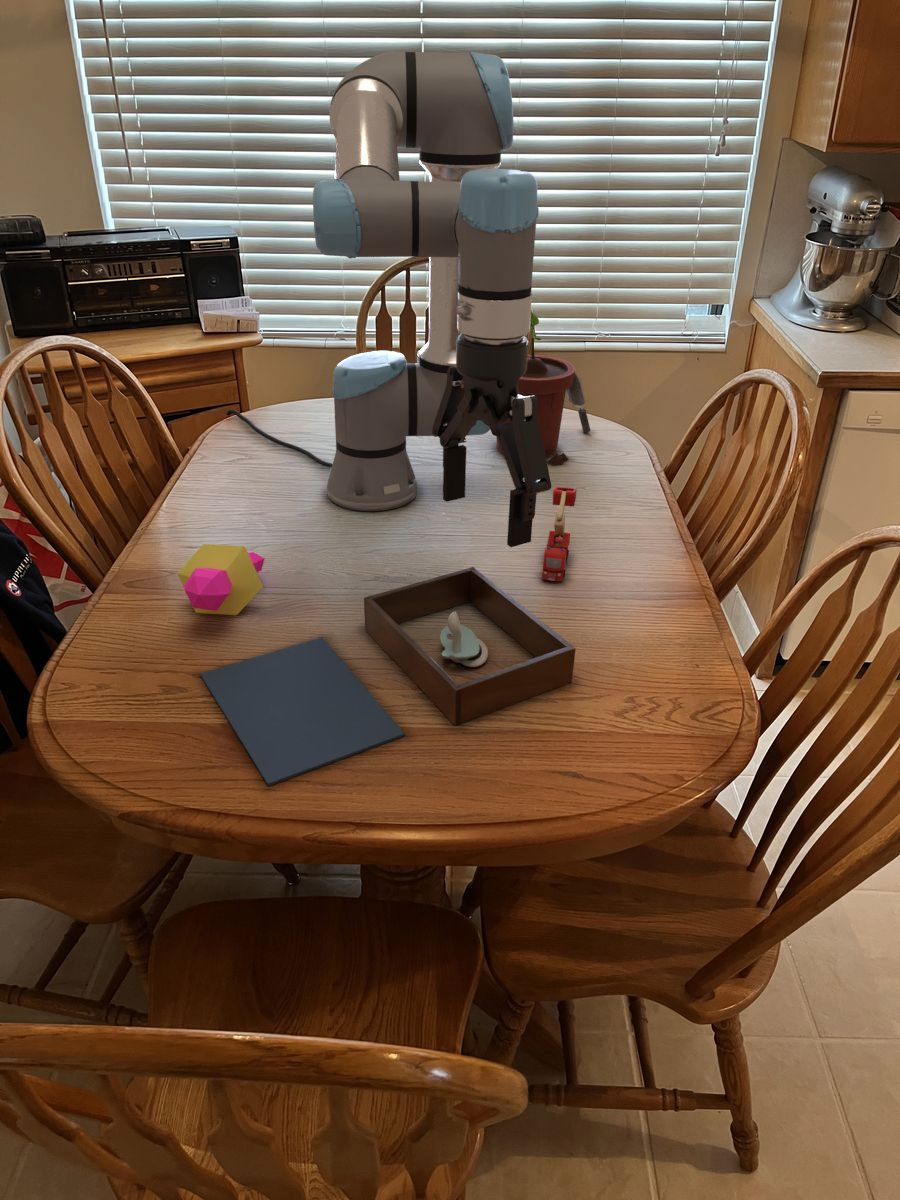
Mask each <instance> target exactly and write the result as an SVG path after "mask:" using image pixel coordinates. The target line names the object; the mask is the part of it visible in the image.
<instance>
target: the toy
mask: <svg viewBox="0 0 900 1200" xmlns="http://www.w3.org/2000/svg"><path fill="white" fill-rule="evenodd" d="M264 562H265V557H263V556H262V555H259V554H258V553H256V552H255V551H250V552H249V551H248V550H247V548H246V546H245V545H228V544H211V543H210V544H209V543H203V544H202V545H201V546H200V547H199V548H198V549H197V551H196V552H194V554H193V555H192V556H191V557H190V558H189V559H188V561H186V563H185V564H183V566H182V567H181V568H180V570H178V572H177V576H178V578H179V580H180V582H181V584H182V586H183V589H184V591H185V593H186V596H187V598H188V600H189V602H190V604H191V606H192V607H193V610H194V612H195V613H196V614H209V615H223V616H224V615H226V616H238V614H240V613H241V611H242V610H243V609H244V608H245V607H246V606H247V605H248V604H249V603H250V602H251V601H252V600H253V599H254V597H255V596H256V595H257V594H258V593H259V592H260V591H261V590H262V589H263V588H264V585H263V583H262V580H261V578H260V576H259V574H258V573H259V572H261V571H262V570H263V567H264Z"/></svg>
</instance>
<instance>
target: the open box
mask: <svg viewBox="0 0 900 1200" xmlns="http://www.w3.org/2000/svg"><path fill="white" fill-rule="evenodd" d="M467 603H471V604H472V605H473V606H475V608H477V610H479V611H480V612H481V613H483V615H485V616H486V617H488V618H489V619H490V620H491V621H492V622H493V623H494V624H496V625H497V626H498V627H499V628H501V629H502V631H504V632H505V633H506V634H508V635H509V636H510V637H511V638H512V639H513V640H514V641H515V642H517V643H518V644H519V645H520V646H522V648H523V649H525V650H526V651H527V652H529V654H531V655H532V656H533V657H534V658H531V659H528V660H525V661H523V662H519V663H517V664H514V665H512V666H509V667H505V668H502V669H501V670H500V669H499V670H498V671H495V672H494V671H493V672H491V673H489V674H485V675H483V676H480V677H477V678H474V679H472V680H468V681H466V682H463V683H460V684H458V683H457V682H456V681H455V680H454V679H453V678H452V677H451V675H449V674H448V673H447V672H446V671H445V670H444V669H443V668H442V667H441V666H440V665H439V664H438V663H437V662H436V661H435V660H434V659H433V658H432V657H431V656H430V655H429V654H428V653H427V652H426V651H425V650H424V648H422V647H421V646H420V645H419V644H418V643H417V642H416V641H415V640H414V639H413V638H412V637H411V636H410V635H409V634H408V633H407V632H406V631H405V630H404V629H403V628H402V627H401V626H400V625H399V624H401V623H405V622H408V621H411V620H414V619H417V618H421V617H424V616H428V615H431V614H435V613H437V612H441V611H444V610H449V609H452V608H453V607H457V606H460V605H464V604H467ZM363 609H364V631H365V632H366V633H367V634H368V635H369V636H370V637H371V638H372V639H373V641H375V643H377V644H378V646H380V648H381V649H382V650H383V651H384V652H385V653H386V654H387V655H388V657H390V658H391V659H392V660H393V662H394V663H395V664H396V665H397V666H398V667H399V668H400V669H401V670H402V671H403V672H404V674H406V675H407V677H408V678H410V680H411V681H412V682H413V683H414V684H415V685H416V686H417V687H418V688H419V689H420V690H421V691H422V692H423V694H424V695H425V696H426V697H428V699H429V700H430V701H431V702H432V703H433V704H434V706H436V707H437V708H438V709H439V710H440V712H441V713H442V714H443V715H444V716H445V717H446V718H447V719H448V720H449V721H450V722H451V723H452V724H453V725H454V726H459V725H461V724H463V723H467V722H470V721H472V720H475V719H477V718H480V717H483V716H485V715H488V714H490V713H493V712H496V711H498V710H501V709H503V708H506V707H509V706H512V705H515V704H517V703H520V702H523V701H526V700H528V699H530V698H533V697H536V696H539V695H541V694H544V693H547V692H550V691H552V690H554V689H557V688H560V687H563V686H566V685H568V684H571V683H573V675H574V666H575V656H576V647H575V646H573V645H572V644H571V643H569V642H568V641H567V640H566V639H565V638H564V637H562V636H561V635H559V634H558V633H557V632H556V631H554V630H553V629H552V628H551V627H550V626H548V624H546V623H544V622H543V621H542V620H540V619H539V618H538V617H537V616H536V615H534V613H533V612H531V611H529V610H528V609H527V608H525V606H523V605H522V604H521V603H519V601H517V600H516V599H515V598H513V597H512V596H511V595H509V594H508V593H507V592H506V591H504V590H503V589H502V588H501V587H499V586H498V585H497V584H495V583H494V582H493V581H492V580H490V578H488V577H487V576H486V575H484V574H483V573H482V572H481V571H479V570H478V569H477V568H476V567H474V566H470V567H467V568H464V569H461V570H457V571H454V572H453V571H452V572H450V573H446V574H443V575H439V576H435V577H432V578H429V579H425V580H422V581H418V582H415V583H411V584H407V585H403V586H400V587H397V588H394V589H390V590H386V591H383V592H380V593H376V594H372V595H369V596H365V597H363Z"/></svg>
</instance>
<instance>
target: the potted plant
mask: <svg viewBox="0 0 900 1200" xmlns="http://www.w3.org/2000/svg"><path fill="white" fill-rule="evenodd" d="M539 324H540V319H539V318H538V316H537V315H536V314H535V313H533V311H531V320H530V331H531V332H530V333H531V349H530V350H531V351H530V353H531V354H529V353H528V360H527V371H526V373H525V374H524V375H523V376H522V377H521V378H520V379H519V381H518V392H519V395H521V396H524V397H526V396H532V395H535V396H536V397H537V399H538V421H539V426H540V431H541V436H542V441H543V445H544V450H545V455H546V459H548V458H549V459H548V460H547V464H550V465H552V466H559V465H560V466H561V465H564V462H566V461H567V460H569V457H568V456H567V455H566V454H565V453H564V452H562V453H560V454H559V453H557V451H558V445H559V440H560V433H561V426H562V420H563V419H562V418H563V413H564V405H565V399H566V396H567V399H568V403H570V404H571V405H572V407H573V408H574V409H578V411H577V413H578V417H579V421H580V424H581V429H582V433H584V434H588V433H590V432H591V426H590V422H589V419H588V413H587V410H586V408H583V406H584V405H586V401H587V399H586V396H585V392H584V389H583V384H582V380H581V378H580V376H579V375H578V373H577V372H576V367H575V365H574V364H573V363H572V362H569V361H567V360H565V359H562V358H559V357H555V356H550V355H542V354H535V340H537V341H542V338H541V337H538V336H537V333H536V330H535V329H534V327H536V326H537V325H539ZM510 422H512V421H511V419H510V418H509V420H508V421H507V422H506V423H510ZM495 437H496V450H497V451H498V453H499V454H501V455H503V452H502V449H501V446H500V443H499V441H498V438H497V436H495ZM550 457H551V458H550Z"/></svg>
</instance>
